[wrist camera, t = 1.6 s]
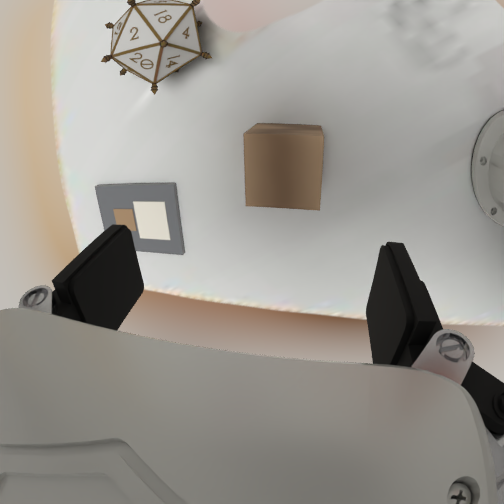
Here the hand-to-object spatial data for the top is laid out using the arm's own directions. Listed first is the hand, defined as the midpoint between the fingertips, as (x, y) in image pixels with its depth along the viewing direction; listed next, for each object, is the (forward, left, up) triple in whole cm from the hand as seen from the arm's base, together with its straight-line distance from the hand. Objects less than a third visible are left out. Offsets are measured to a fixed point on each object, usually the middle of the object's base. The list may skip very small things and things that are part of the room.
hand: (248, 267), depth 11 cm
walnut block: (0, 0, -18) cm, 18 cm away
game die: (+10, -11, -18) cm, 23 cm away
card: (+16, +7, -18) cm, 25 cm away
